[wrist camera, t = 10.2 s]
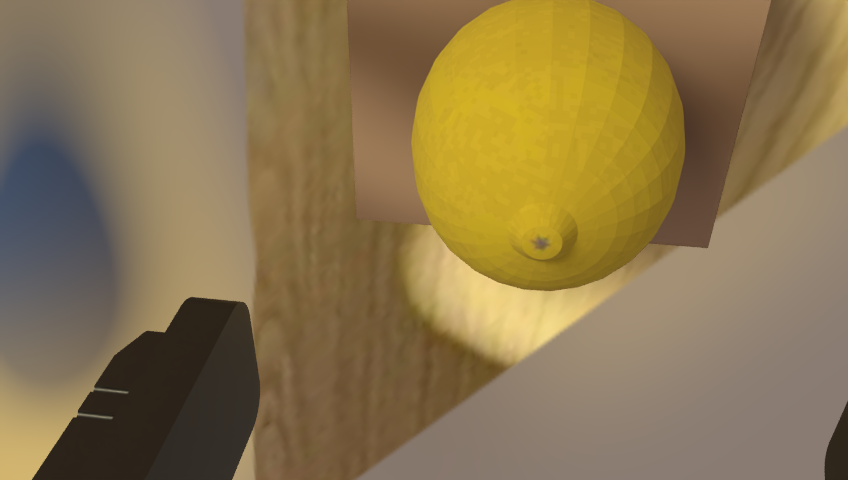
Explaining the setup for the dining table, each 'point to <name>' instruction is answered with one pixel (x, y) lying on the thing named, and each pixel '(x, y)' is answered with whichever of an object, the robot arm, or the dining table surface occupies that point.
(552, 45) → the lemon
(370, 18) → the stool
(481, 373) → the dining table surface
